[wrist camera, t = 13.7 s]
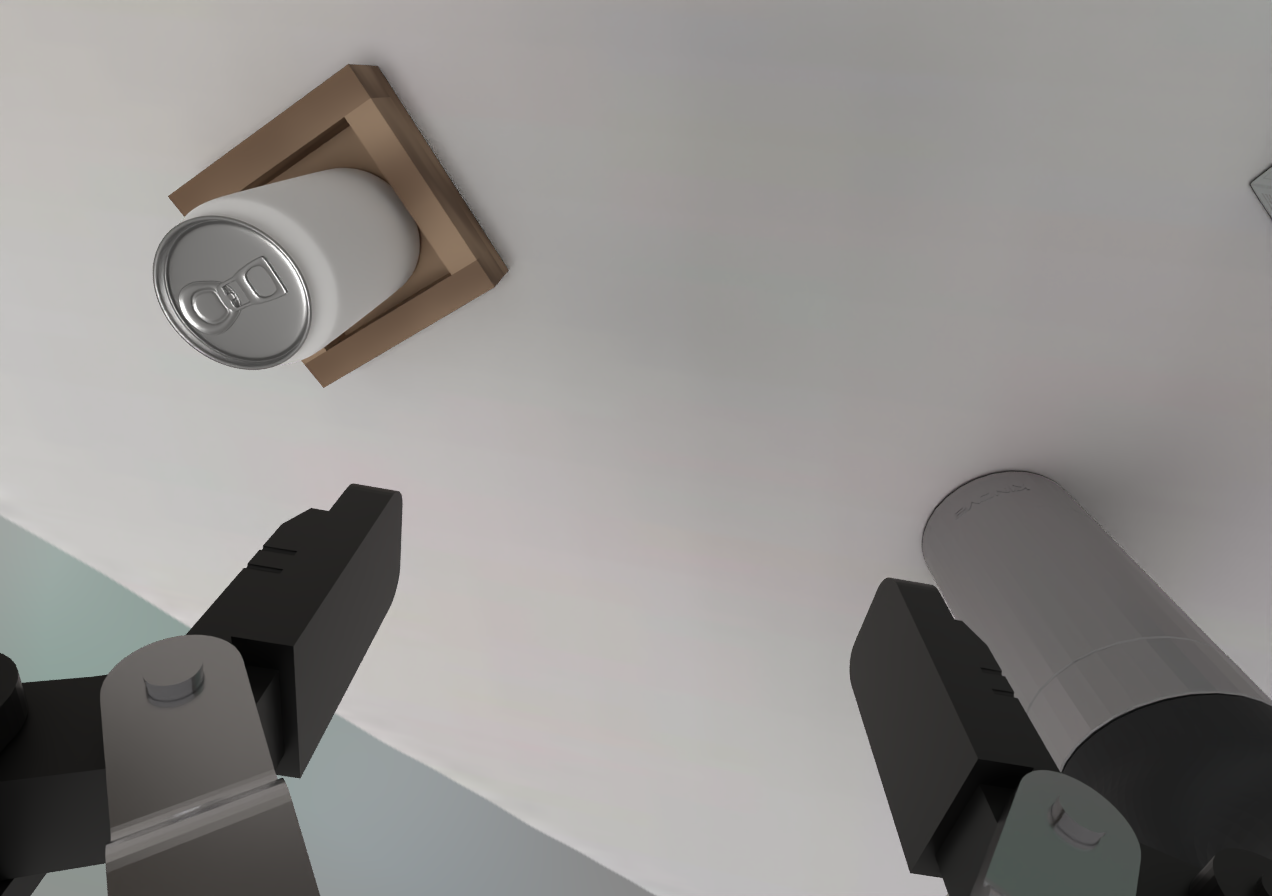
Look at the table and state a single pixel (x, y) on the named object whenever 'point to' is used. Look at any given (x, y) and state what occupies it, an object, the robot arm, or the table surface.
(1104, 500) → the table surface
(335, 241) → the can
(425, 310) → the tray
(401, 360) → the table surface
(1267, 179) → the supplement box
